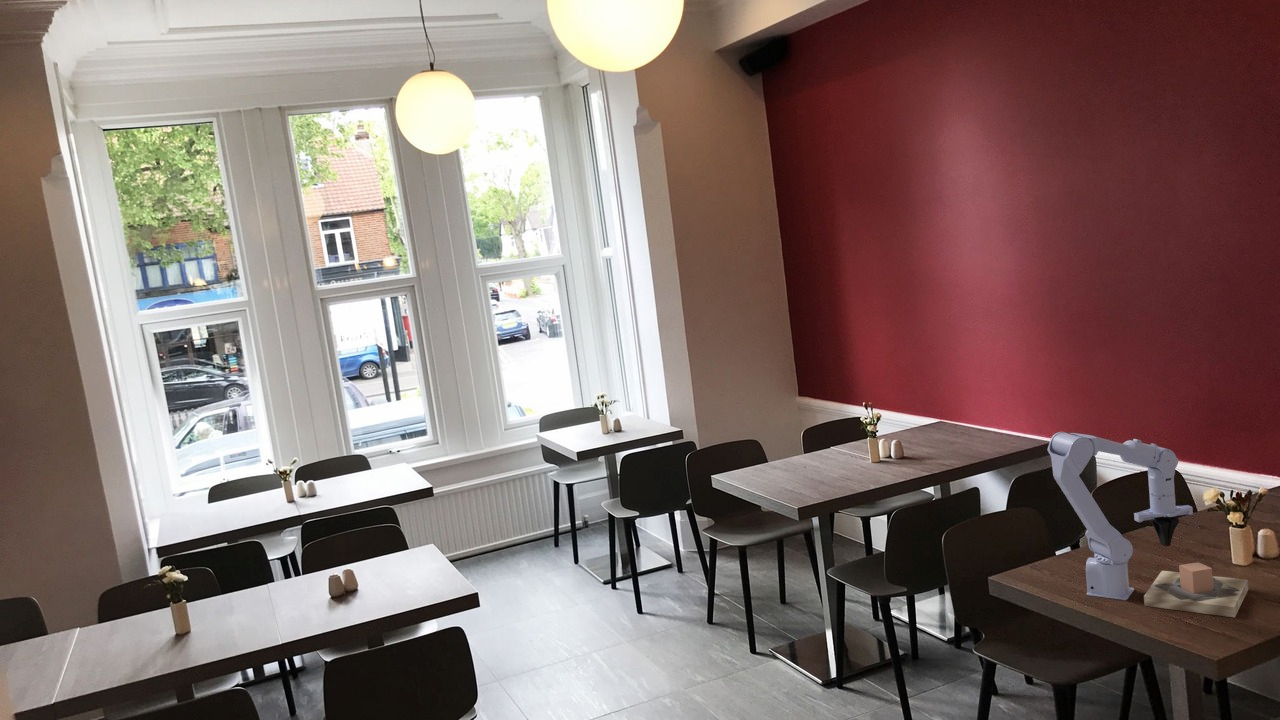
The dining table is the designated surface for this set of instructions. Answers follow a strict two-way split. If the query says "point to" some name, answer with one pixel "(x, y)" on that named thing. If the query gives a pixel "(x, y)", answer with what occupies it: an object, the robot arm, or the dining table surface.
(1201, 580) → the peg
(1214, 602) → the socket board
